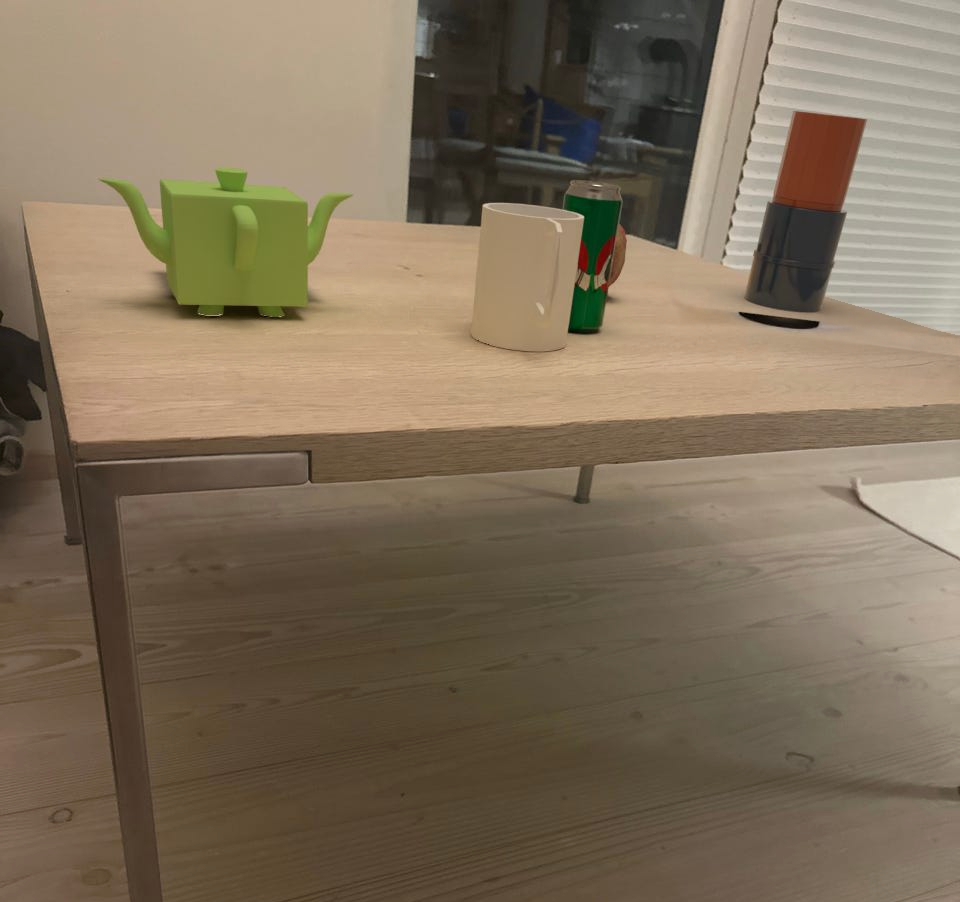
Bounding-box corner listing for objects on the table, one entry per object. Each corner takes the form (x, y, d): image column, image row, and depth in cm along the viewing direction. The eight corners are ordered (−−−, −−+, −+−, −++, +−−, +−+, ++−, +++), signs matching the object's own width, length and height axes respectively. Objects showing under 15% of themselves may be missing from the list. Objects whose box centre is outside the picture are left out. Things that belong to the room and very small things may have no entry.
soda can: (592, 322, 88) (615, 182, 81) (608, 335, 83) (632, 189, 77) (541, 319, 86) (559, 177, 80) (554, 332, 82) (574, 184, 76)
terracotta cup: (831, 206, 95) (855, 118, 91) (849, 214, 90) (875, 120, 85) (766, 198, 96) (787, 110, 91) (779, 205, 90) (802, 111, 86)
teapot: (109, 305, 75) (93, 158, 69) (204, 282, 86) (197, 154, 80) (275, 337, 71) (273, 185, 66) (352, 309, 82) (355, 176, 77)
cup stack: (808, 315, 102) (838, 206, 96) (826, 332, 95) (860, 216, 89) (732, 306, 102) (758, 197, 96) (745, 322, 95) (773, 205, 89)
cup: (494, 362, 72) (509, 222, 66) (461, 324, 81) (472, 200, 76) (593, 366, 74) (615, 230, 68) (550, 328, 83) (566, 207, 78)
